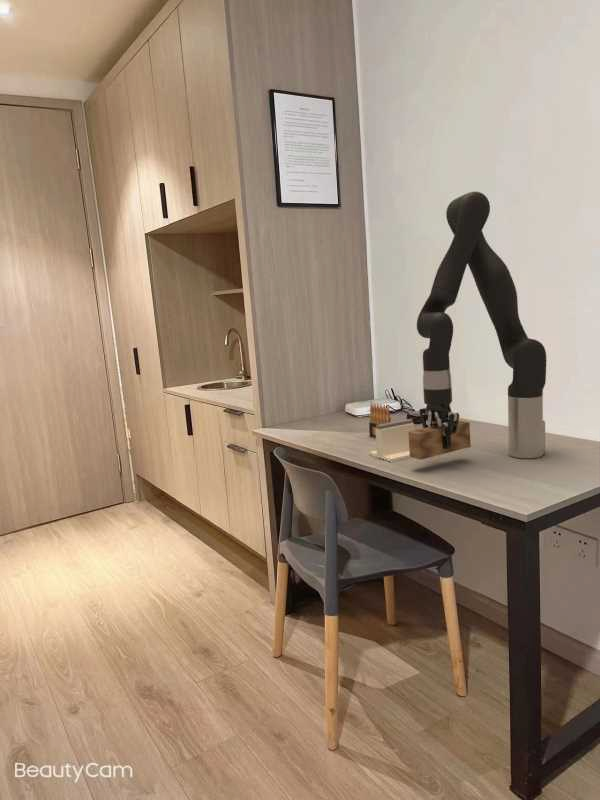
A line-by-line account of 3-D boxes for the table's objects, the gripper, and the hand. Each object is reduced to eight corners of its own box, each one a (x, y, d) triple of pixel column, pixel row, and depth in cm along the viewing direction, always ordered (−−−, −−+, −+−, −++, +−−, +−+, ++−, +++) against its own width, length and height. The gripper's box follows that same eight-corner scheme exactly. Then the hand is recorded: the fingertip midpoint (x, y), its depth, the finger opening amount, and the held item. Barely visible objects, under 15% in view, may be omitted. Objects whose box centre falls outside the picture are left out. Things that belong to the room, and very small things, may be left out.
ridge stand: (400, 448, 193) (399, 416, 191) (423, 454, 183) (422, 422, 182) (369, 455, 187) (367, 422, 186) (390, 462, 178) (389, 428, 176)
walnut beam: (459, 444, 177) (458, 420, 175) (470, 446, 173) (469, 422, 172) (409, 456, 168) (408, 431, 167) (420, 459, 164) (419, 434, 163)
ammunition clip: (369, 436, 211) (367, 402, 209) (373, 436, 212) (372, 401, 210) (388, 442, 202) (387, 406, 200) (393, 441, 203) (391, 405, 201)
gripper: (466, 386, 163) (469, 449, 166) (430, 382, 175) (433, 440, 178) (444, 390, 159) (447, 454, 162) (409, 385, 172) (412, 445, 175)
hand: (440, 446), depth 170 cm, fingers closed on walnut beam, 4 cm apart
